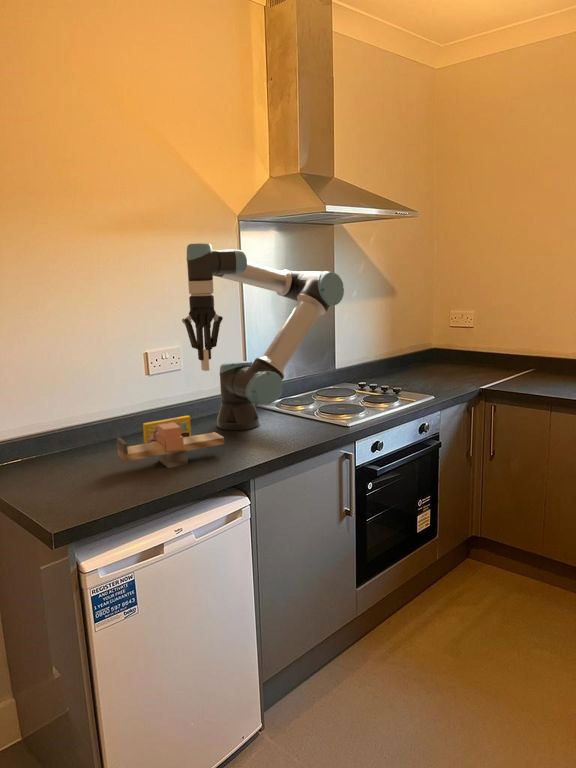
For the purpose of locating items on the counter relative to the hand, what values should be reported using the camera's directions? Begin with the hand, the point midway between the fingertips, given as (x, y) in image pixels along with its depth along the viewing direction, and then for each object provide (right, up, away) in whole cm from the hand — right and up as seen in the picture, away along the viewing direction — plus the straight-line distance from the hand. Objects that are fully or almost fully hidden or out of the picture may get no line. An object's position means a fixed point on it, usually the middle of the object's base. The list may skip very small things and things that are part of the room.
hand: (205, 370), depth 188 cm
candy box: (-13, -24, +6) cm, 28 cm away
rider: (-8, -23, -14) cm, 28 cm away
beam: (-8, -28, -13) cm, 31 cm away
